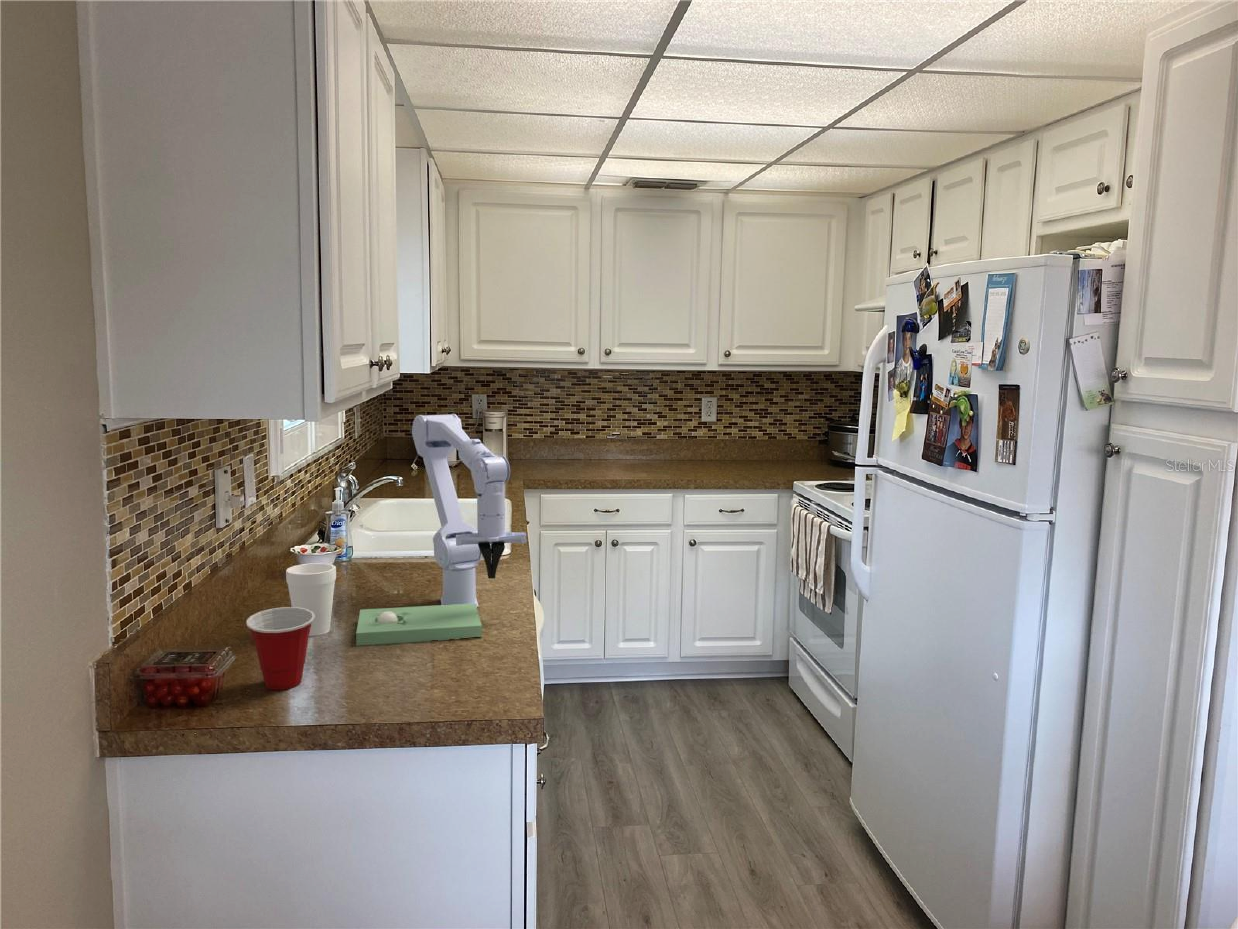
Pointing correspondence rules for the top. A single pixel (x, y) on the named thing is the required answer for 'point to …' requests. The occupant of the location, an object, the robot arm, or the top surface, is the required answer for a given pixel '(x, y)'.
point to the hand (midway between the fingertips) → (491, 577)
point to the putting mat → (419, 624)
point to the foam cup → (313, 592)
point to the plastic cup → (281, 644)
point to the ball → (387, 618)
